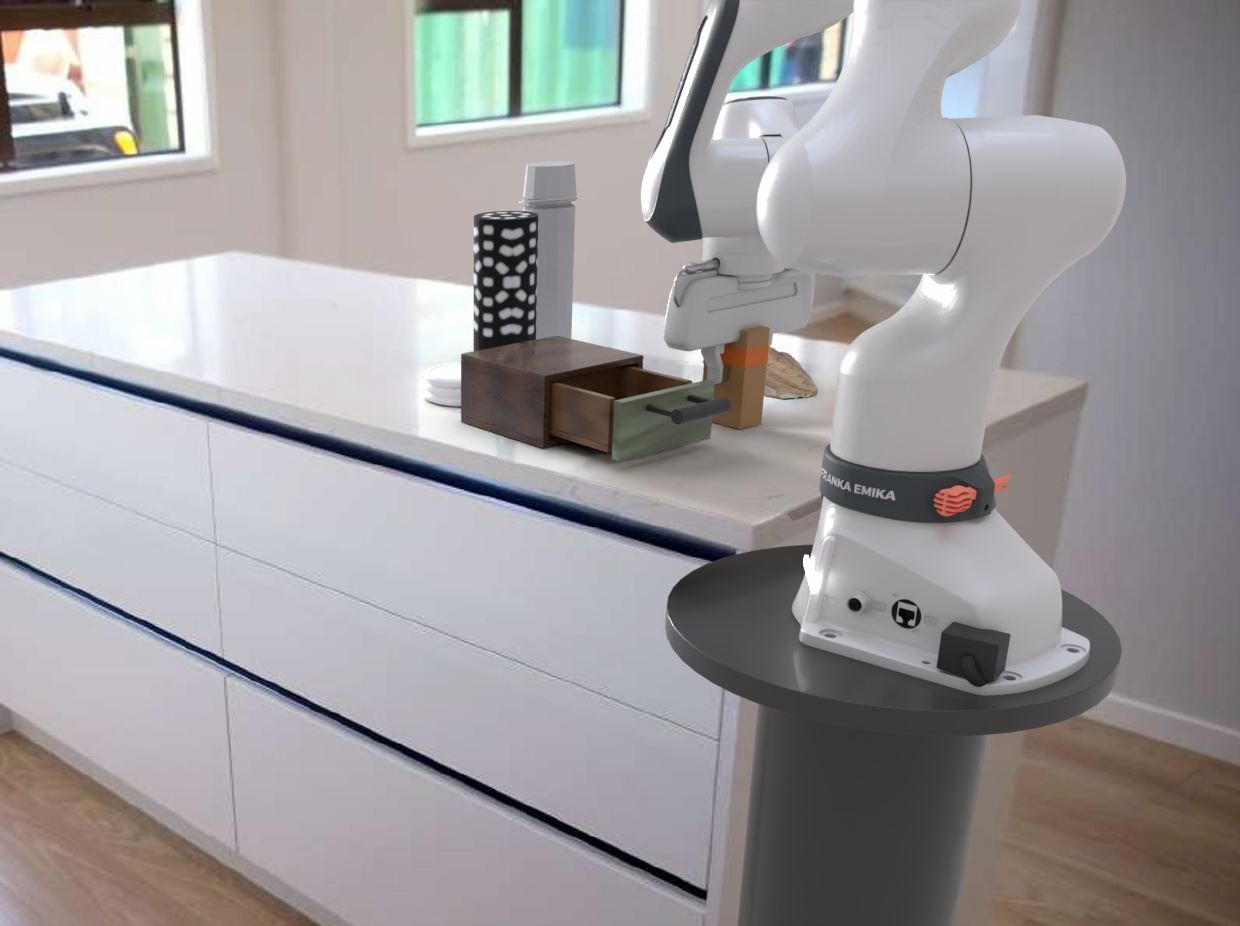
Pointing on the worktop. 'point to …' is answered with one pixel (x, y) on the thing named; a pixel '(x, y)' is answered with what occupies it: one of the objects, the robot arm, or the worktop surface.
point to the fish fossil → (786, 377)
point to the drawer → (632, 411)
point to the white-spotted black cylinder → (505, 278)
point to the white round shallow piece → (443, 384)
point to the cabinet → (528, 383)
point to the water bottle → (553, 242)
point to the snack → (743, 378)
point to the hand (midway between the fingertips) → (734, 378)
